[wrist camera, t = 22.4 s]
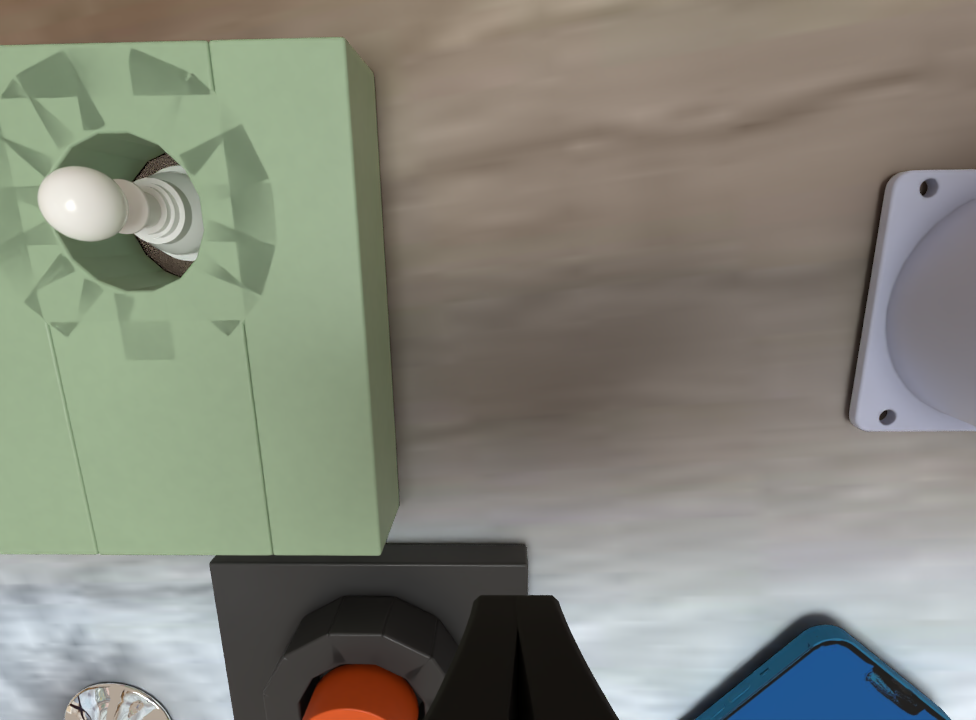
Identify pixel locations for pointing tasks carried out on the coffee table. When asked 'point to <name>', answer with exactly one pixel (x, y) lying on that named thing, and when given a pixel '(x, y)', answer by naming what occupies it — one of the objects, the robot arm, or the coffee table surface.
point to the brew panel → (350, 617)
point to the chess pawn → (125, 208)
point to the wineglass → (114, 704)
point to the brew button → (362, 695)
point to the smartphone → (824, 685)
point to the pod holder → (197, 307)
